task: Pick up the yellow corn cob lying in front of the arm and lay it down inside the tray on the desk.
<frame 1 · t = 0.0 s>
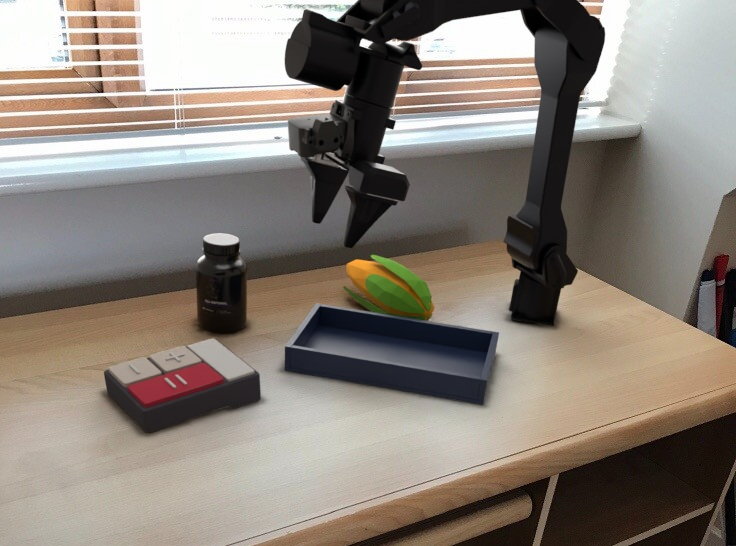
hand: (331, 234, 105), 15 cm above the table, tool pointing down, fingers open, 9 cm apart
tray: (393, 362, 112), on the table
supplement bottle: (222, 325, 118), on the table
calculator: (184, 398, 101), on the table
corn: (381, 312, 126), on the table
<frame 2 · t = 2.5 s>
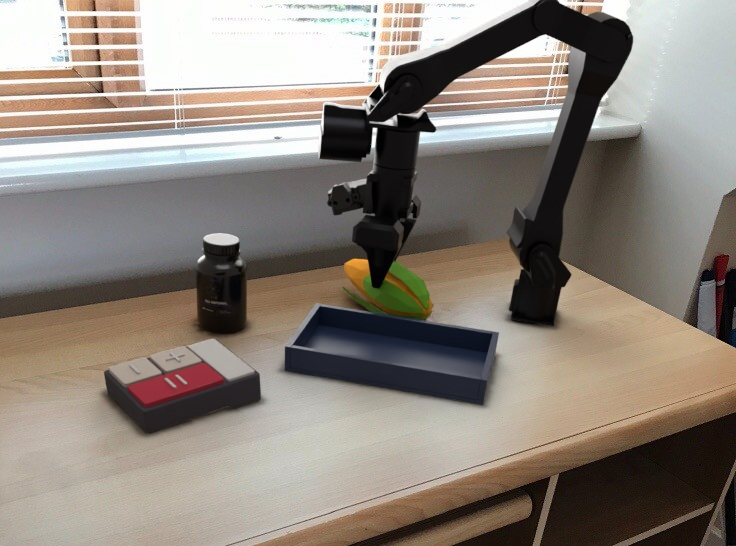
hand: (381, 278, 122), 5 cm above the table, tool pointing down, fingers closed on corn, 8 cm apart
corn: (381, 310, 126), on the table, touching gripper
everything else where it was.
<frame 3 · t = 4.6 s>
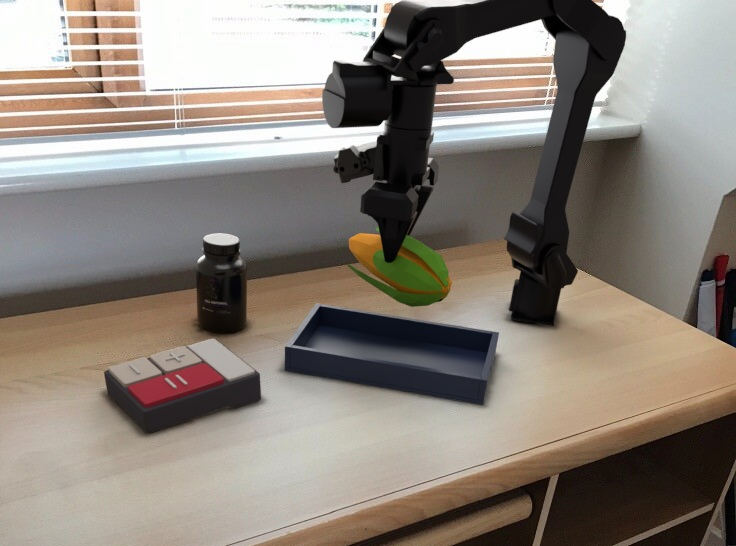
hand: (395, 252, 110), 12 cm above the table, tool pointing down, fingers closed on corn, 7 cm apart
corn: (391, 290, 114), point 7 cm above the table, touching gripper
everything else where it was.
when the fingers open (6 cm above the table, at t = 6.9 s): corn stays where it is, resting on tray.
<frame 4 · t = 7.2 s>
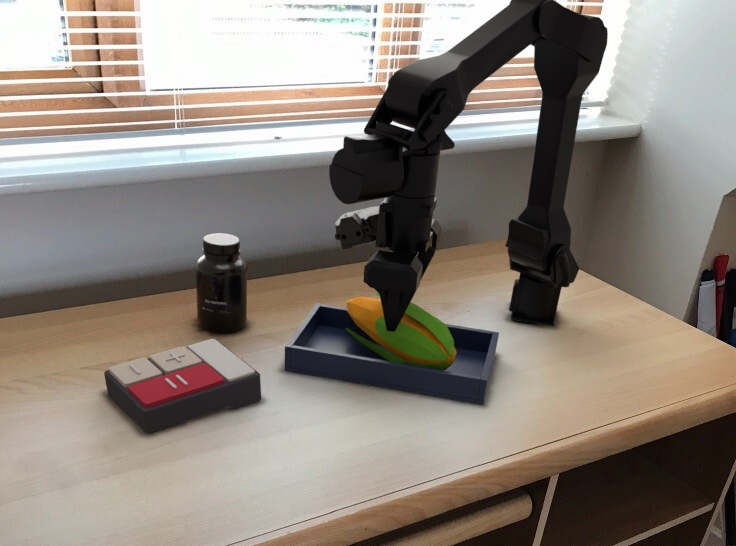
hand: (398, 316, 108), 7 cm above the table, tool pointing down, fingers open, 9 cm apart
corn: (391, 355, 113), point 1 cm above the table, touching tray
everything else where it was.
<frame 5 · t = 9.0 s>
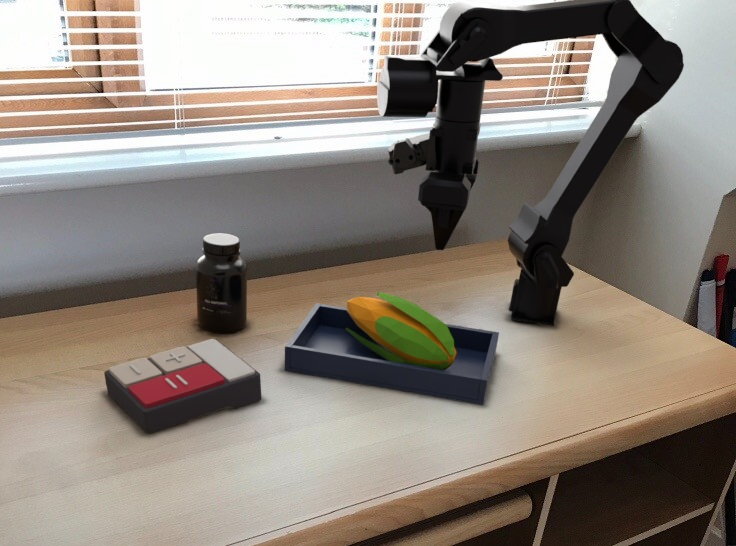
hand: (443, 238, 118), 12 cm above the table, tool pointing down, fingers open, 9 cm apart
nothing on the table moved.
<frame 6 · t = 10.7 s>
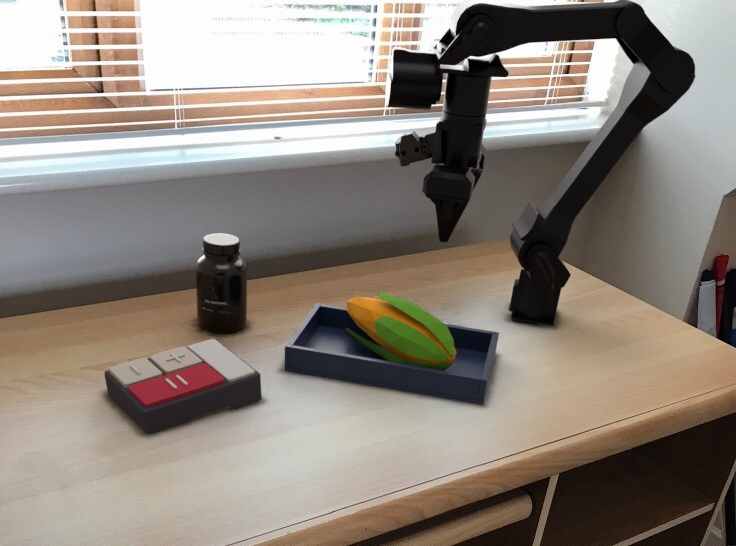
hand: (448, 231, 120), 12 cm above the table, tool pointing down, fingers open, 9 cm apart
nothing on the table moved.
at the end: corn inside the target area in the tray (1.0 cm from its centre), point 0.6 cm above the tray's base; corn tilted 2°; the gripper is holding nothing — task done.
